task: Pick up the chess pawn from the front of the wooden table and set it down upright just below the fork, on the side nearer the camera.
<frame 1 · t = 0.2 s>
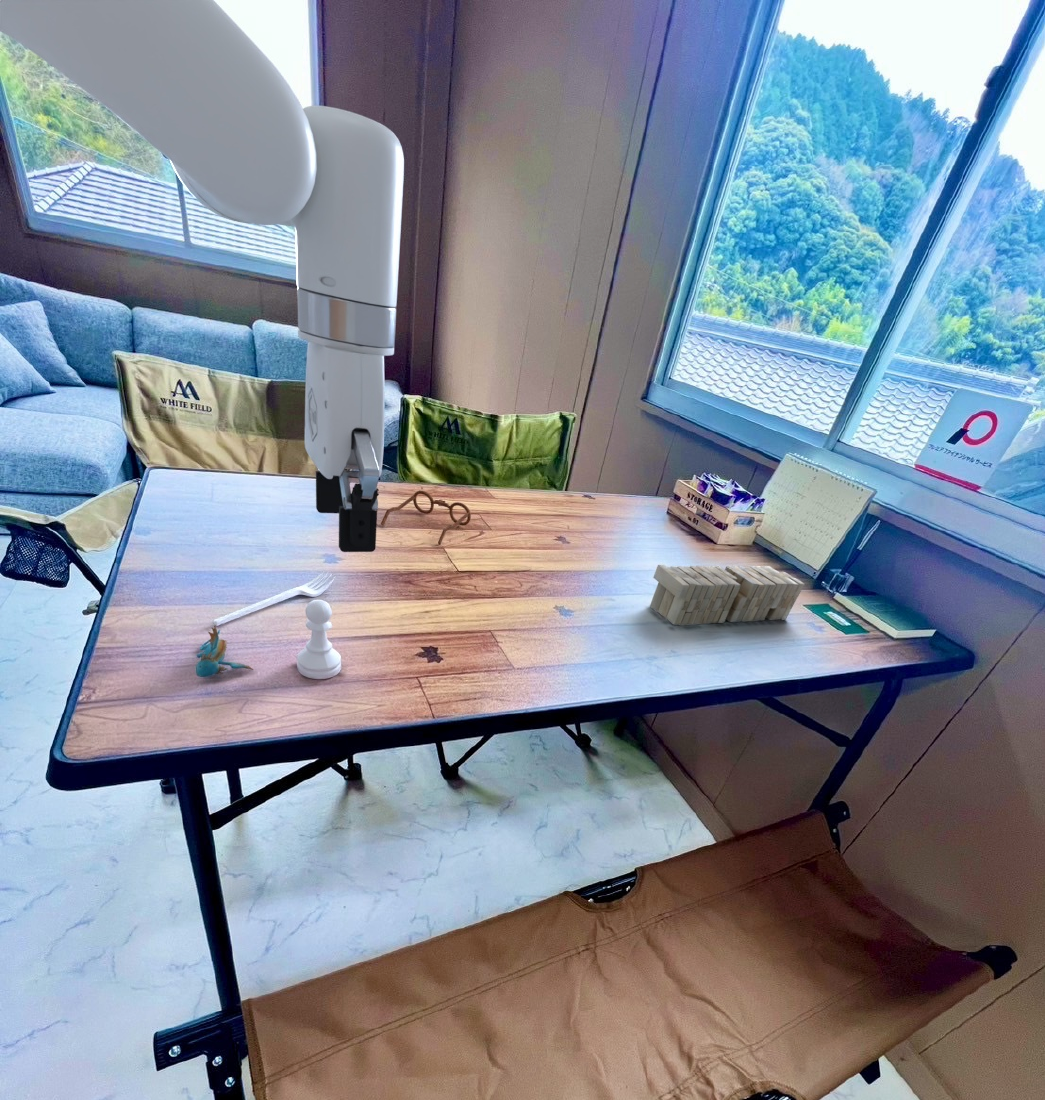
hand: (344, 530, 57), 19 cm above the table, tool pointing down, fingers open, 9 cm apart
block tower: (717, 614, 108), on the table
dragon figurine: (218, 664, 68), on the table
chess pawn: (319, 669, 71), on the table
fork: (278, 605, 81), on the table
glasses: (425, 528, 116), on the table
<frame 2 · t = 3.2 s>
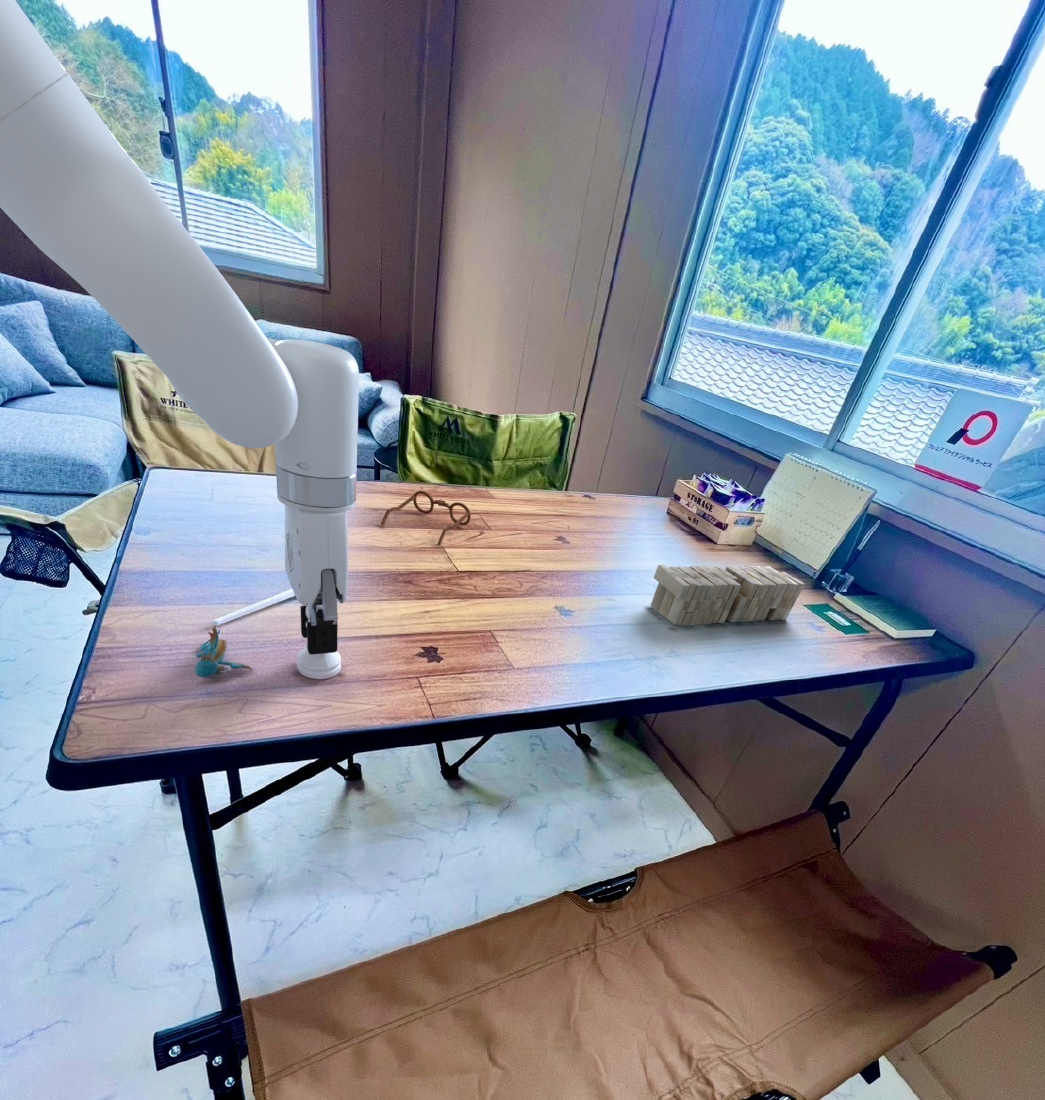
hand: (319, 642, 68), 4 cm above the table, tool pointing down, fingers closed on chess pawn, 3 cm apart
chess pawn: (319, 669, 71), on the table, touching gripper
everything else where it was.
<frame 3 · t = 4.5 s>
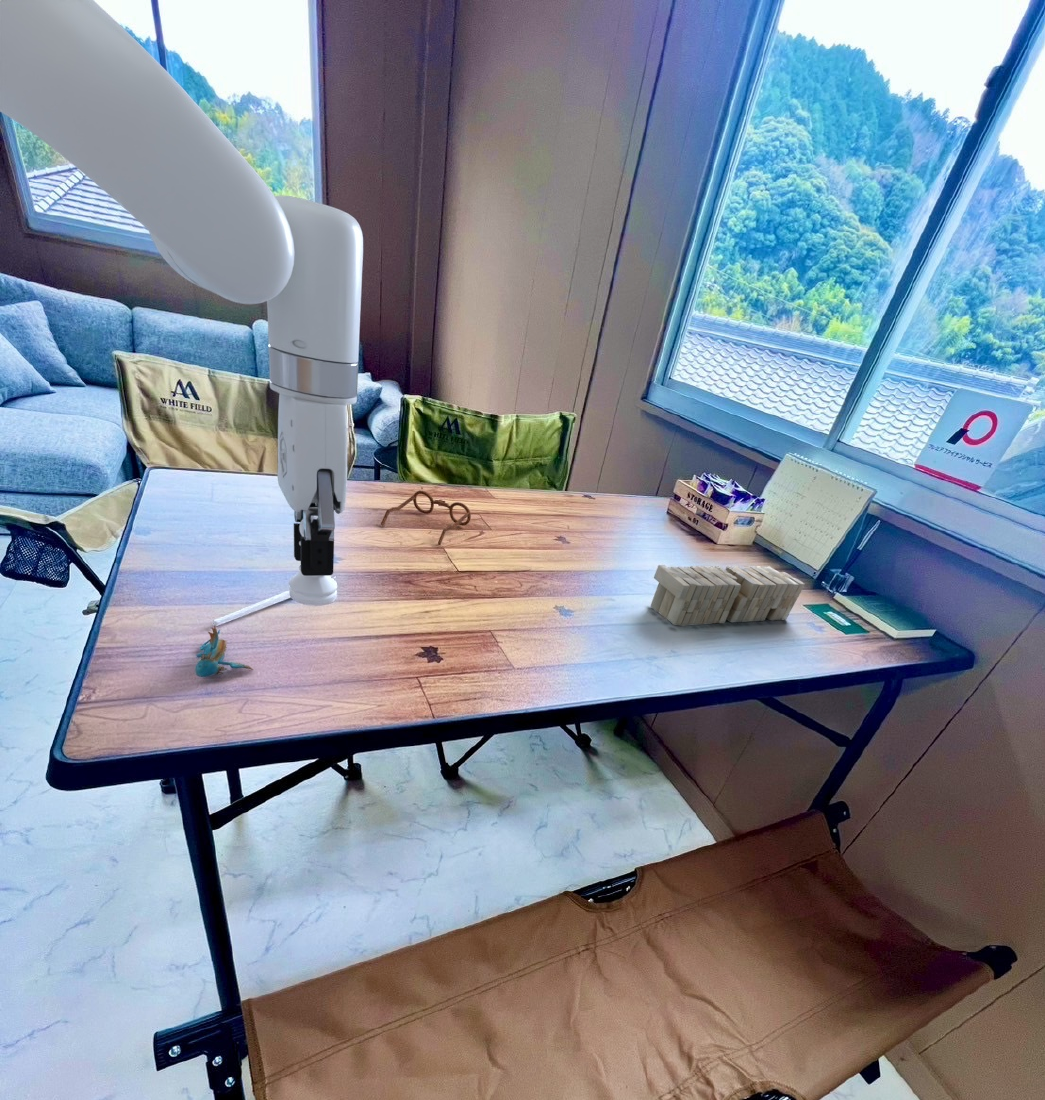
hand: (313, 565, 63), 13 cm above the table, tool pointing down, fingers closed on chess pawn, 3 cm apart
chess pawn: (313, 597, 65), point 10 cm above the table, touching gripper
everything else where it was.
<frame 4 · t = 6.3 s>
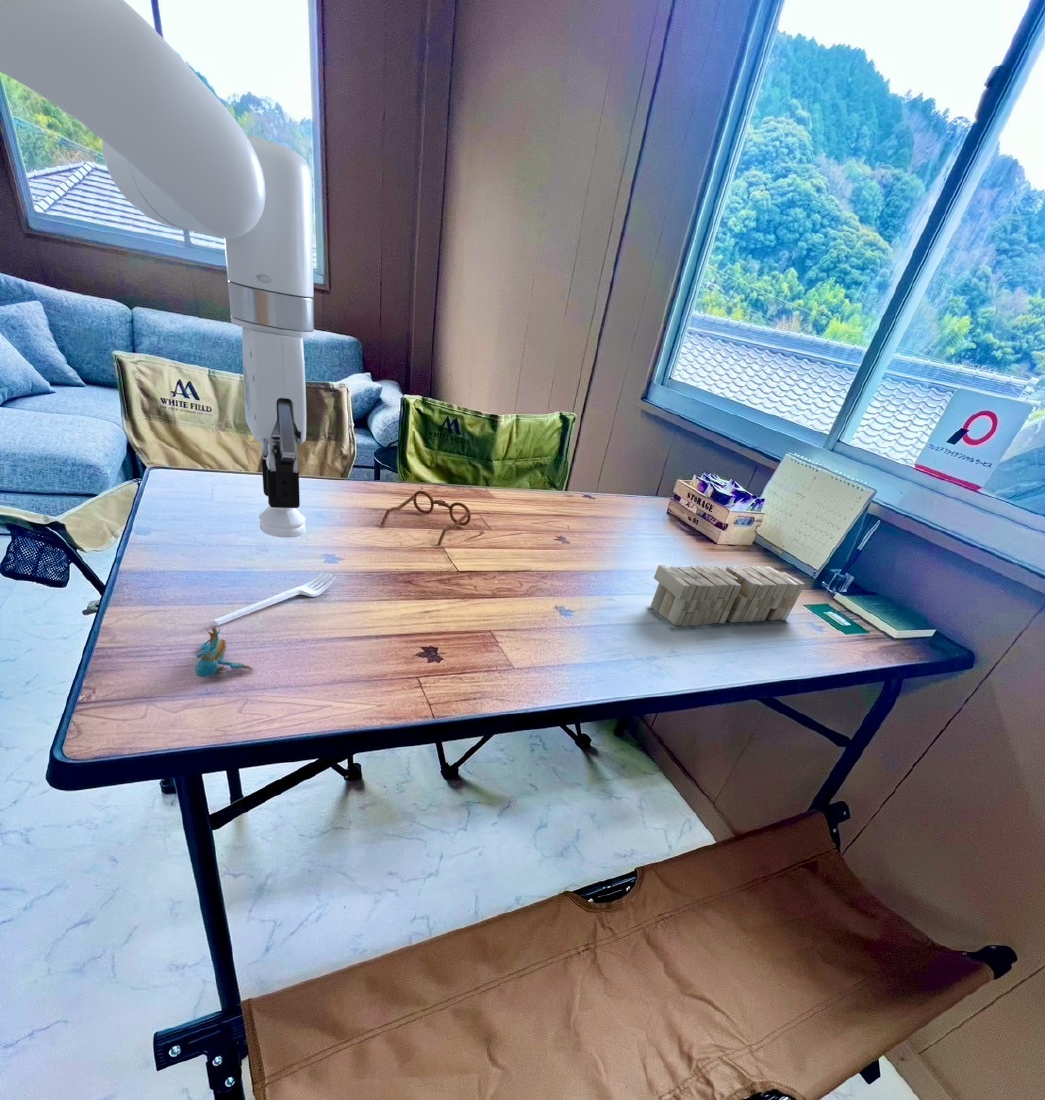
hand: (281, 499, 67), 17 cm above the table, tool pointing down, fingers closed on chess pawn, 3 cm apart
chess pawn: (283, 531, 69), point 13 cm above the table, touching gripper
everything else where it was.
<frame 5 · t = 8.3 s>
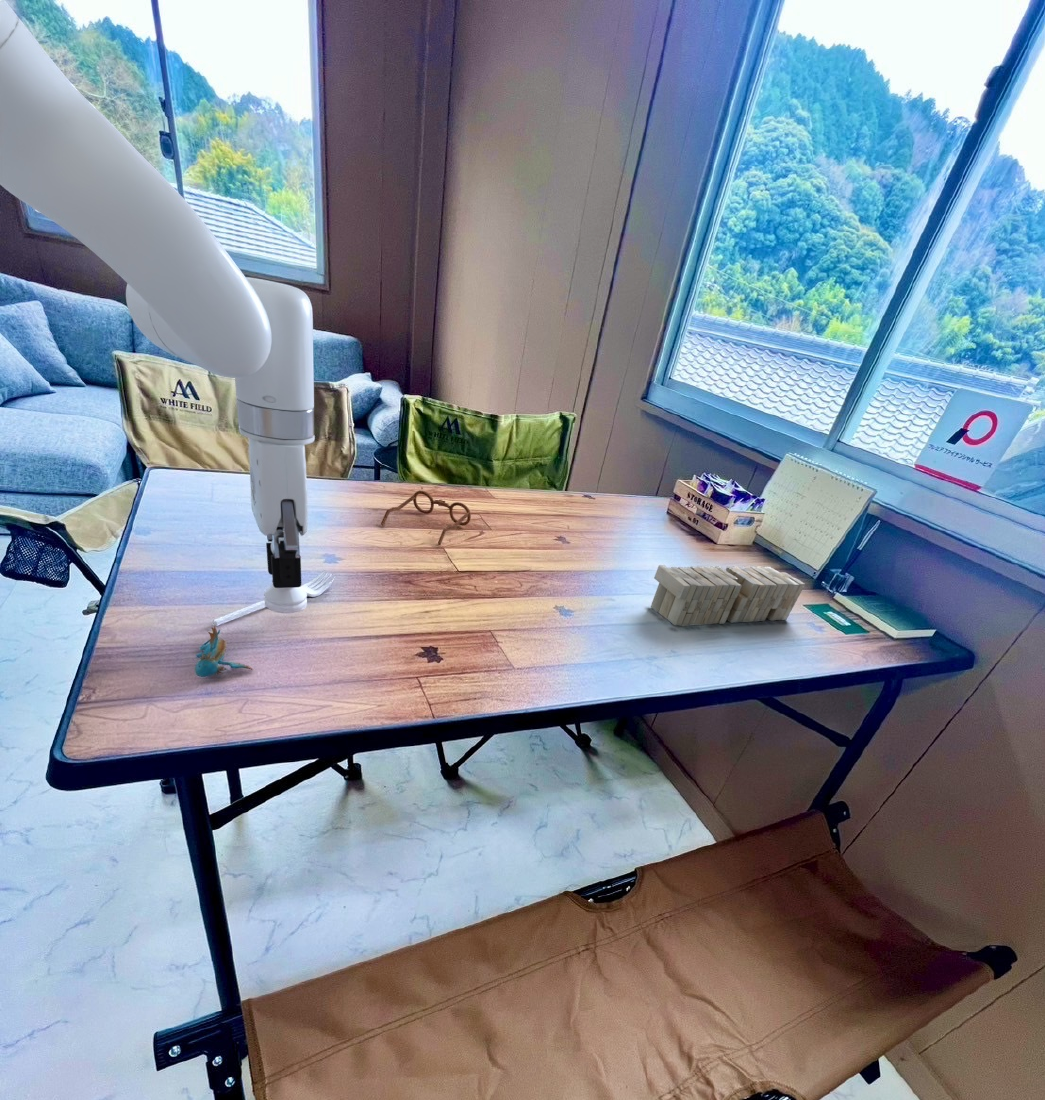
hand: (284, 578, 72), 7 cm above the table, tool pointing down, fingers closed on chess pawn, 3 cm apart
chess pawn: (286, 606, 74), point 3 cm above the table, touching gripper
everything else where it was.
when the fingers open (4 cm above the table, at t = 9.5 s): chess pawn stays where it is, on the table.
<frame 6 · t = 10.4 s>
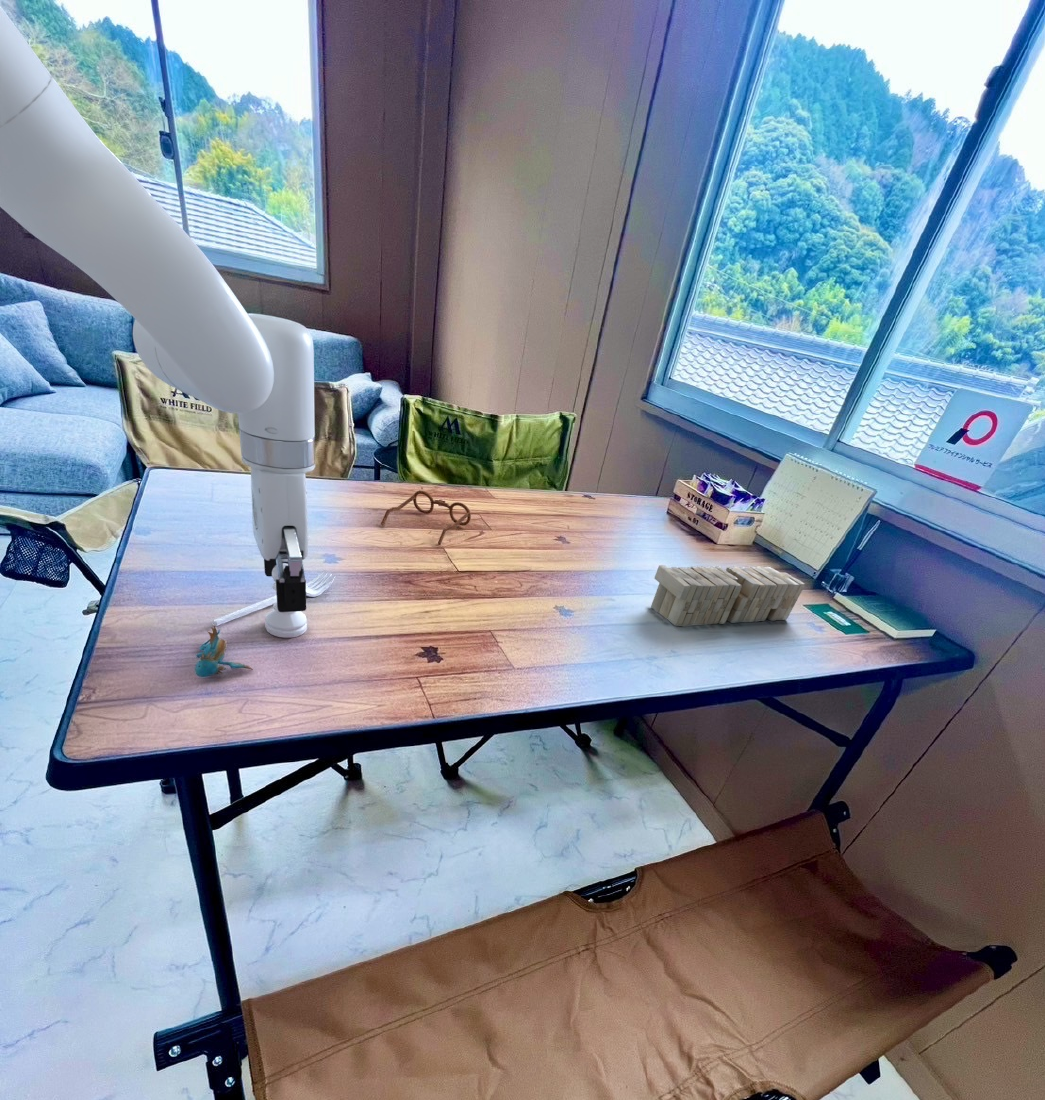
hand: (284, 592, 73), 5 cm above the table, tool pointing down, fingers open, 9 cm apart
chess pawn: (286, 630, 76), on the table
everything else where it was.
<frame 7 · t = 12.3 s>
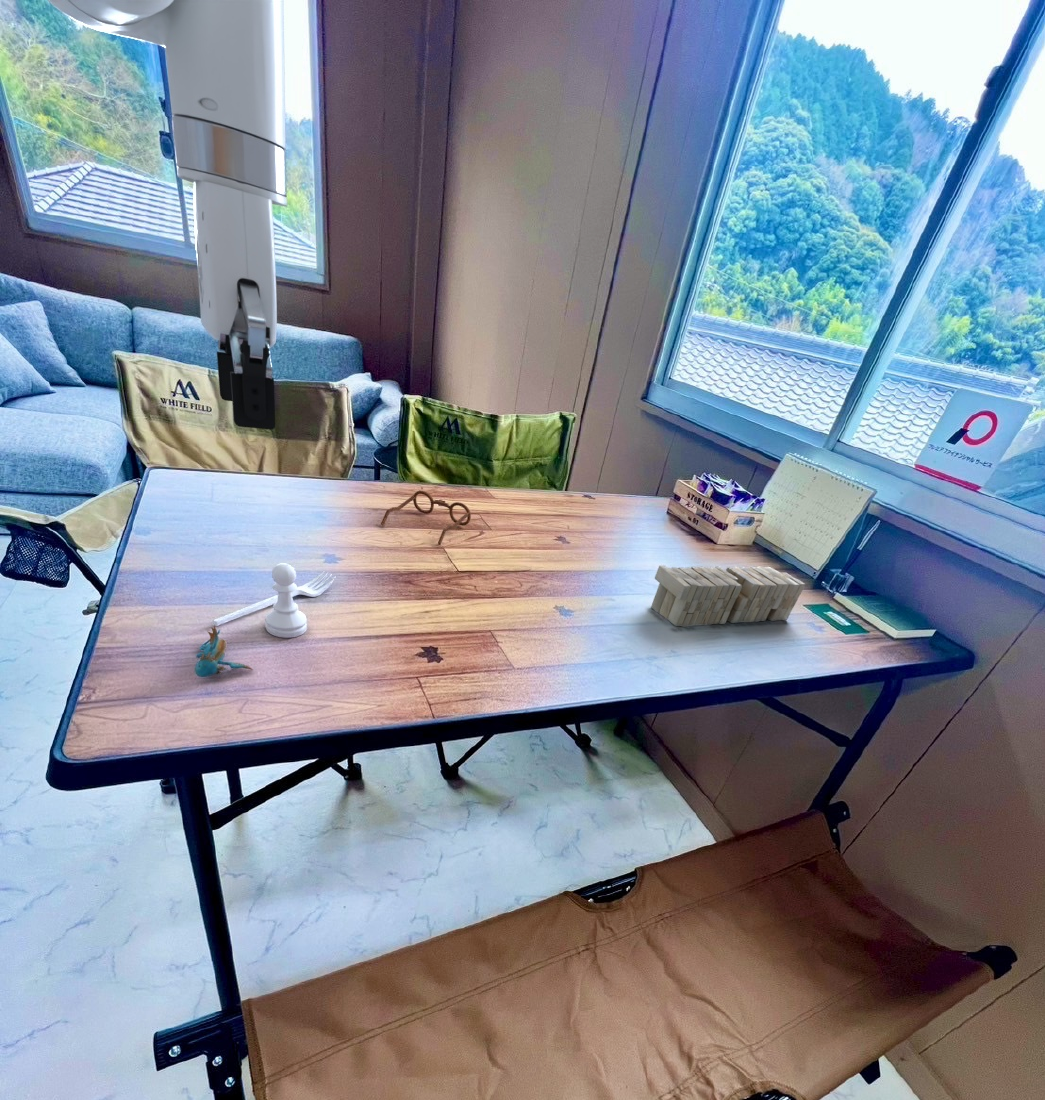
hand: (246, 413, 53), 28 cm above the table, tool pointing down, fingers open, 9 cm apart
nothing on the table moved.
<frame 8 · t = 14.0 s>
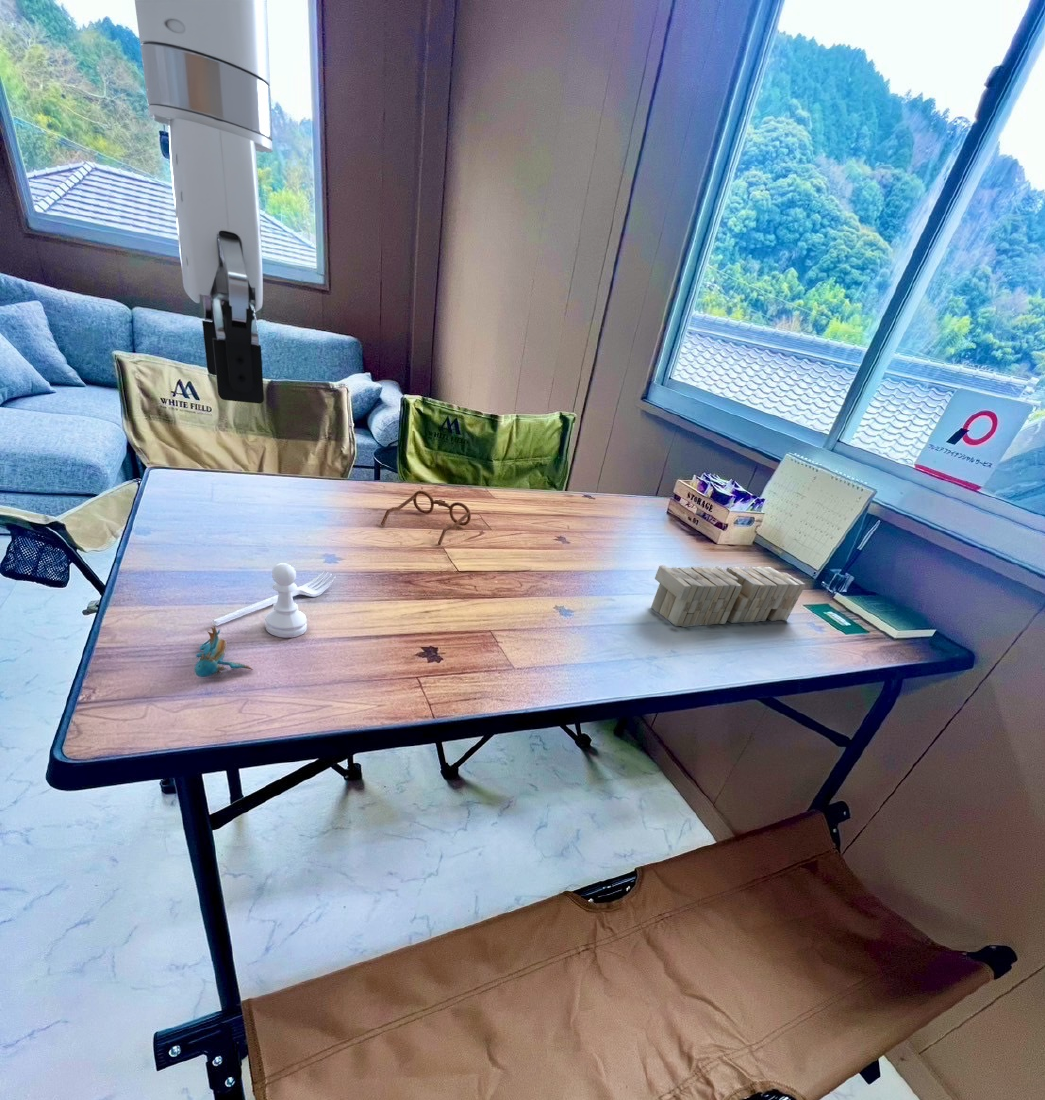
hand: (234, 387, 49), 30 cm above the table, tool pointing down, fingers open, 9 cm apart
nothing on the table moved.
at the end: chess pawn inside the target area on the table beside the fork (0.5 cm from its centre), on the table; chess pawn tilted 0°; fork moved 0.2 cm from its start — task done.
